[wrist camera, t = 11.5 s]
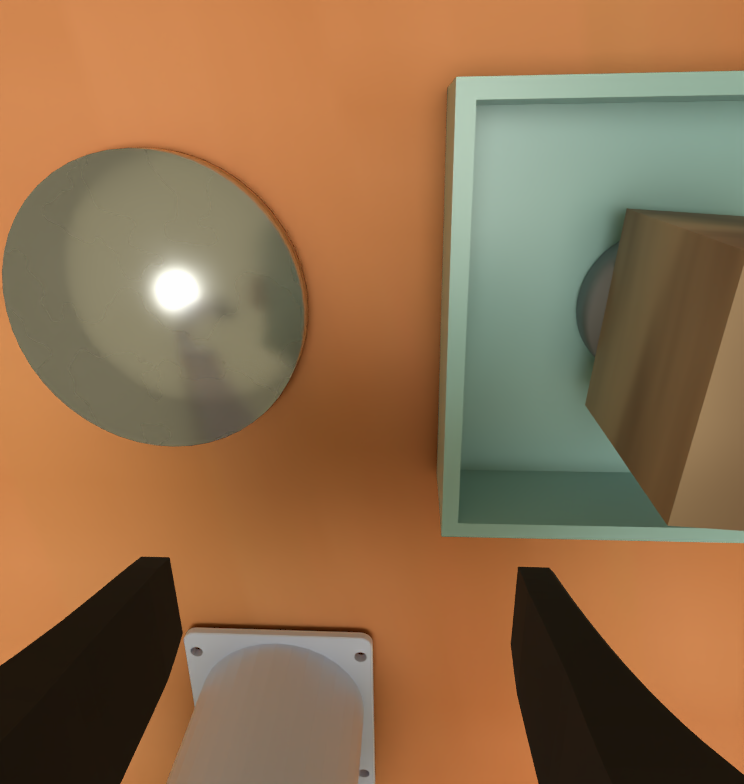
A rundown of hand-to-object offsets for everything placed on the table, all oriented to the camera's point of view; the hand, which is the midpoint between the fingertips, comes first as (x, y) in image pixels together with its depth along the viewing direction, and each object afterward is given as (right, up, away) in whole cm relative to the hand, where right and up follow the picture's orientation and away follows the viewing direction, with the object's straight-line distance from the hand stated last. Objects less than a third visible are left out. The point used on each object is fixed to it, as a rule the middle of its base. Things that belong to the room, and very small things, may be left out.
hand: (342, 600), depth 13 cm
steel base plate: (-6, +7, +9) cm, 13 cm away
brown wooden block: (+10, +7, +7) cm, 14 cm away
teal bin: (+9, +7, +8) cm, 14 cm away
